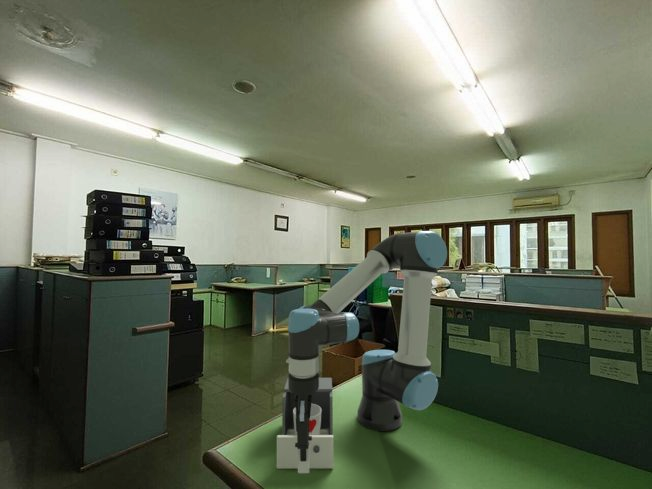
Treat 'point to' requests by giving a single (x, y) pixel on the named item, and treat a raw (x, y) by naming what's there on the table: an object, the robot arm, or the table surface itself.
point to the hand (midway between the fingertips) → (303, 470)
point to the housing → (318, 398)
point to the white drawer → (318, 450)
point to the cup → (311, 420)
